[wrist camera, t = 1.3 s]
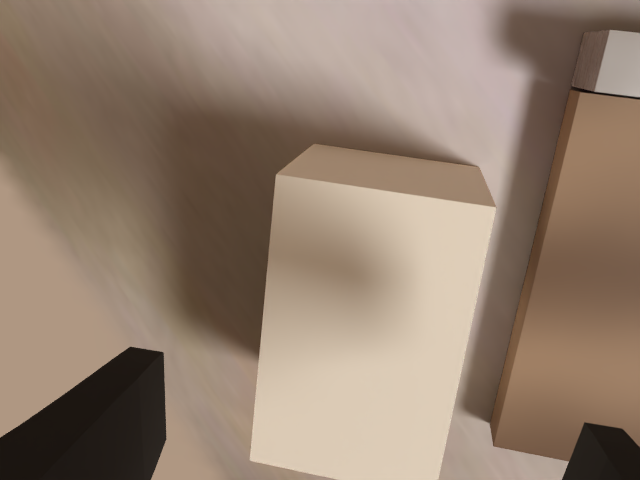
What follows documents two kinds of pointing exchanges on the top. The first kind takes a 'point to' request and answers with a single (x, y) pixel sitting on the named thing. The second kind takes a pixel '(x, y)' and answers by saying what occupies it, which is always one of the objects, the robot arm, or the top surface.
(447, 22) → the top surface
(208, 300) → the top surface
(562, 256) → the shelf board
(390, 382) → the carton
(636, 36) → the price rail
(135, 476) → the robot arm
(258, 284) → the top surface
